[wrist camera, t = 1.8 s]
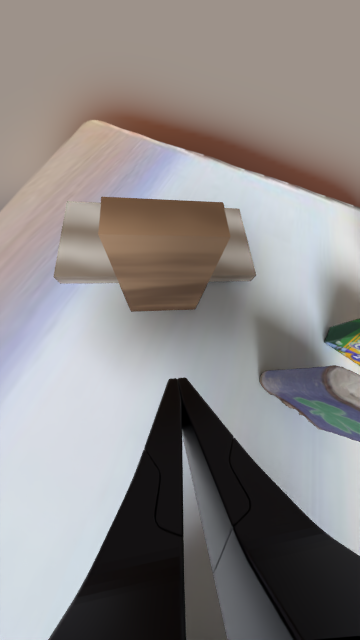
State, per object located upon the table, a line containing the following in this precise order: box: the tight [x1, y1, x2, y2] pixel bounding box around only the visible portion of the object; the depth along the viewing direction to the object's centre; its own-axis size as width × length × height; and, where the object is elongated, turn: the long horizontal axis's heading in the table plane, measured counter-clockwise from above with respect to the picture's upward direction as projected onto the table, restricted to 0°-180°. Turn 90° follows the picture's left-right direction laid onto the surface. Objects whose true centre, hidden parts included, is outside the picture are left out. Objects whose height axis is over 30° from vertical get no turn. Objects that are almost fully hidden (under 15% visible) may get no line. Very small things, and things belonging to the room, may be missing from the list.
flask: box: [259, 365, 360, 442], centre depth 15 cm, size 9×3×11 cm, turn 54°
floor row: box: [54, 201, 256, 284], centre depth 24 cm, size 13×25×2 cm, turn 95°
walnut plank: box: [98, 197, 231, 312], centre depth 17 cm, size 3×8×12 cm, turn 95°
